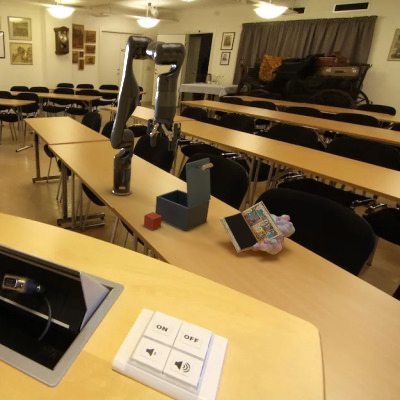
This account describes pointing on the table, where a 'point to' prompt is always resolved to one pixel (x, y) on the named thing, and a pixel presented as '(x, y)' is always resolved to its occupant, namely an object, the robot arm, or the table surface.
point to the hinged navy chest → (180, 210)
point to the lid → (198, 182)
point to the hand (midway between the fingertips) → (161, 148)
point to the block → (152, 221)
